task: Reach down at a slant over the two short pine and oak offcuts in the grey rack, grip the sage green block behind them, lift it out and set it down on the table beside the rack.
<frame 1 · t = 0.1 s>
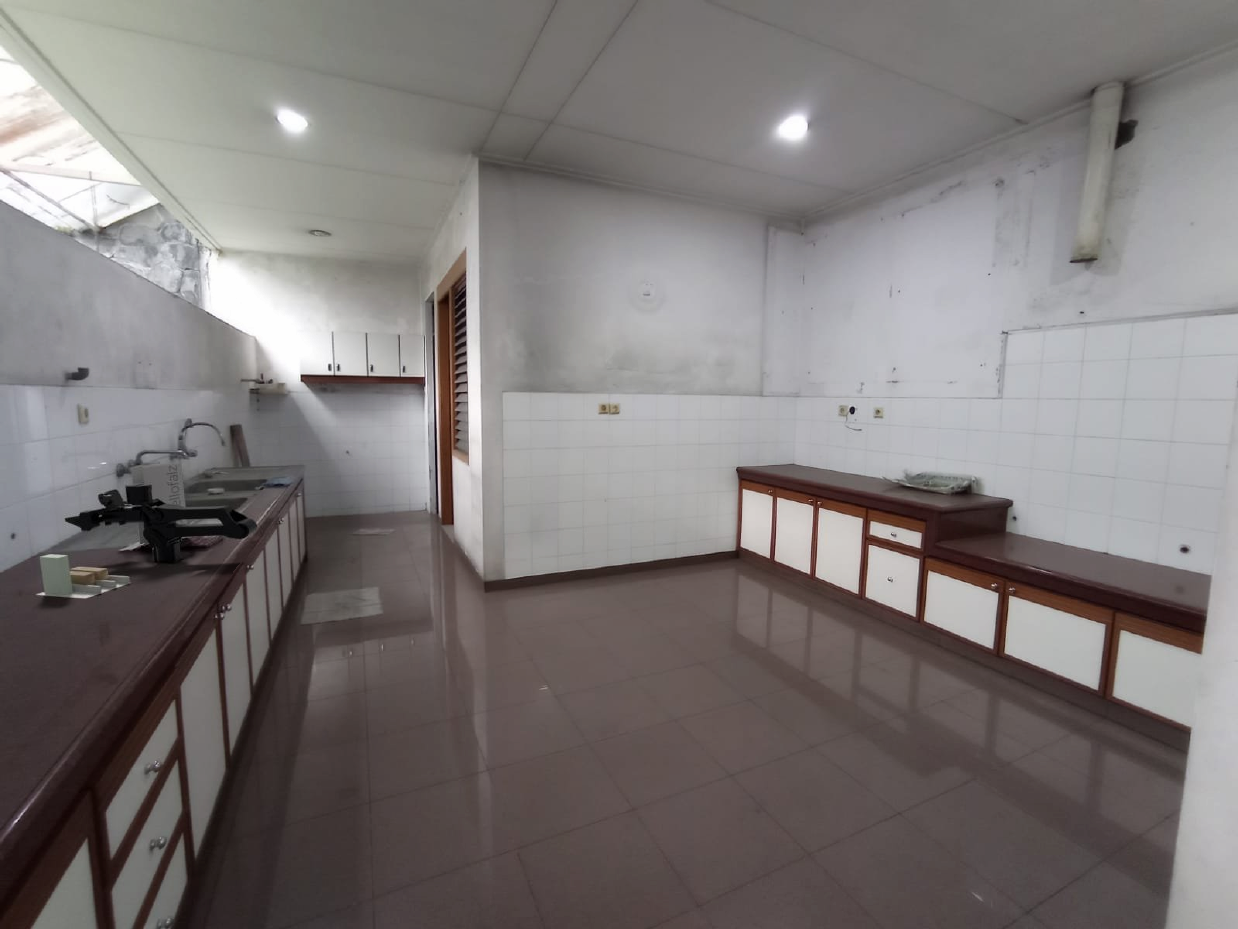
hand: (76, 516, 183), 17 cm above the countertop, tool horizontal, fingers open, 9 cm apart
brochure: (165, 543, 211), on the countertop
rack: (76, 591, 162), on the countertop
offcut front: (90, 583, 166), point 1 cm above the countertop, touching rack
sage green block: (58, 593, 157), point 1 cm above the countertop, touching rack
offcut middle: (76, 588, 162), point 1 cm above the countertop, touching rack
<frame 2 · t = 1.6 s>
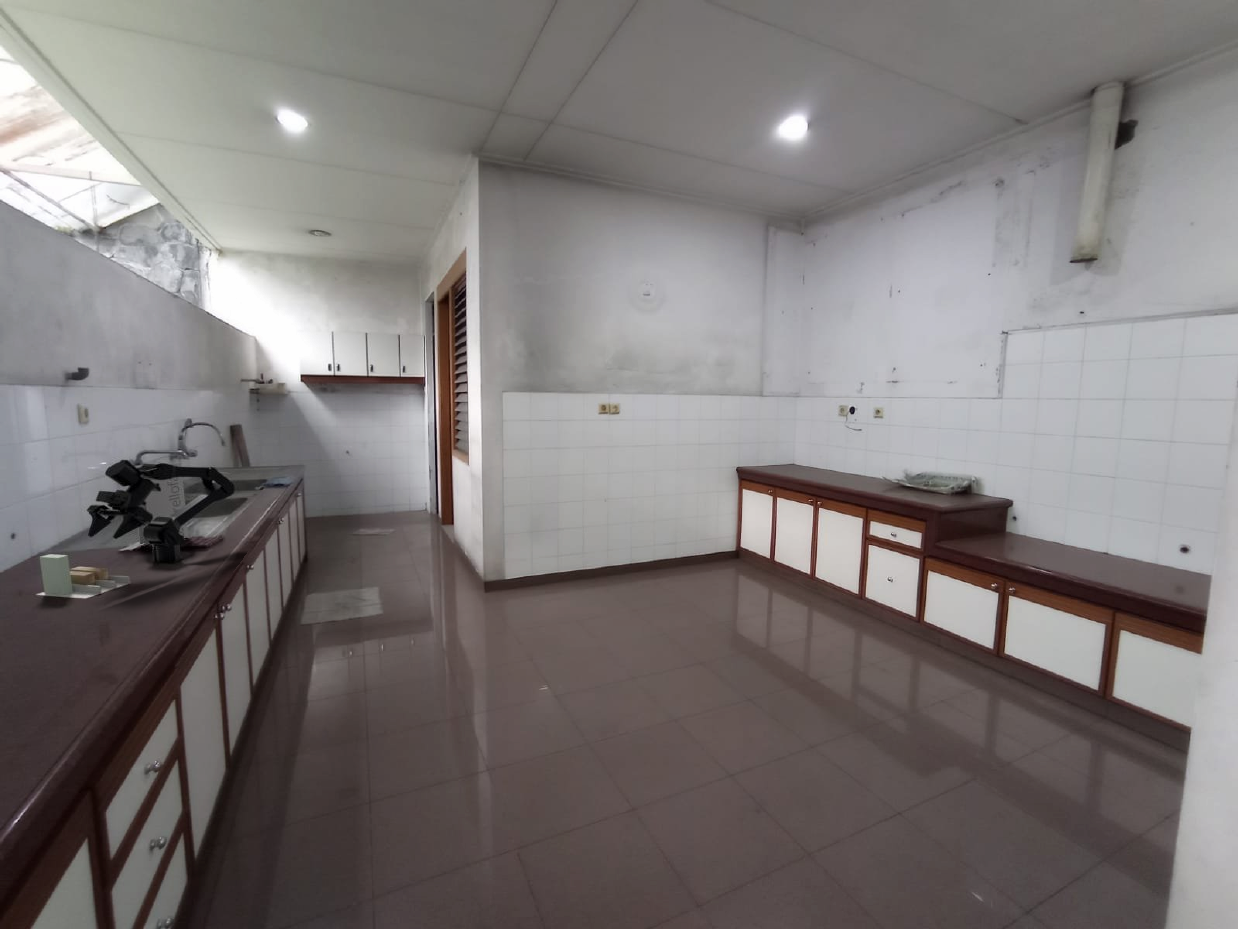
hand: (101, 537, 169), 14 cm above the countertop, tool tilted 45°, fingers open, 9 cm apart
nothing on the countertop moved.
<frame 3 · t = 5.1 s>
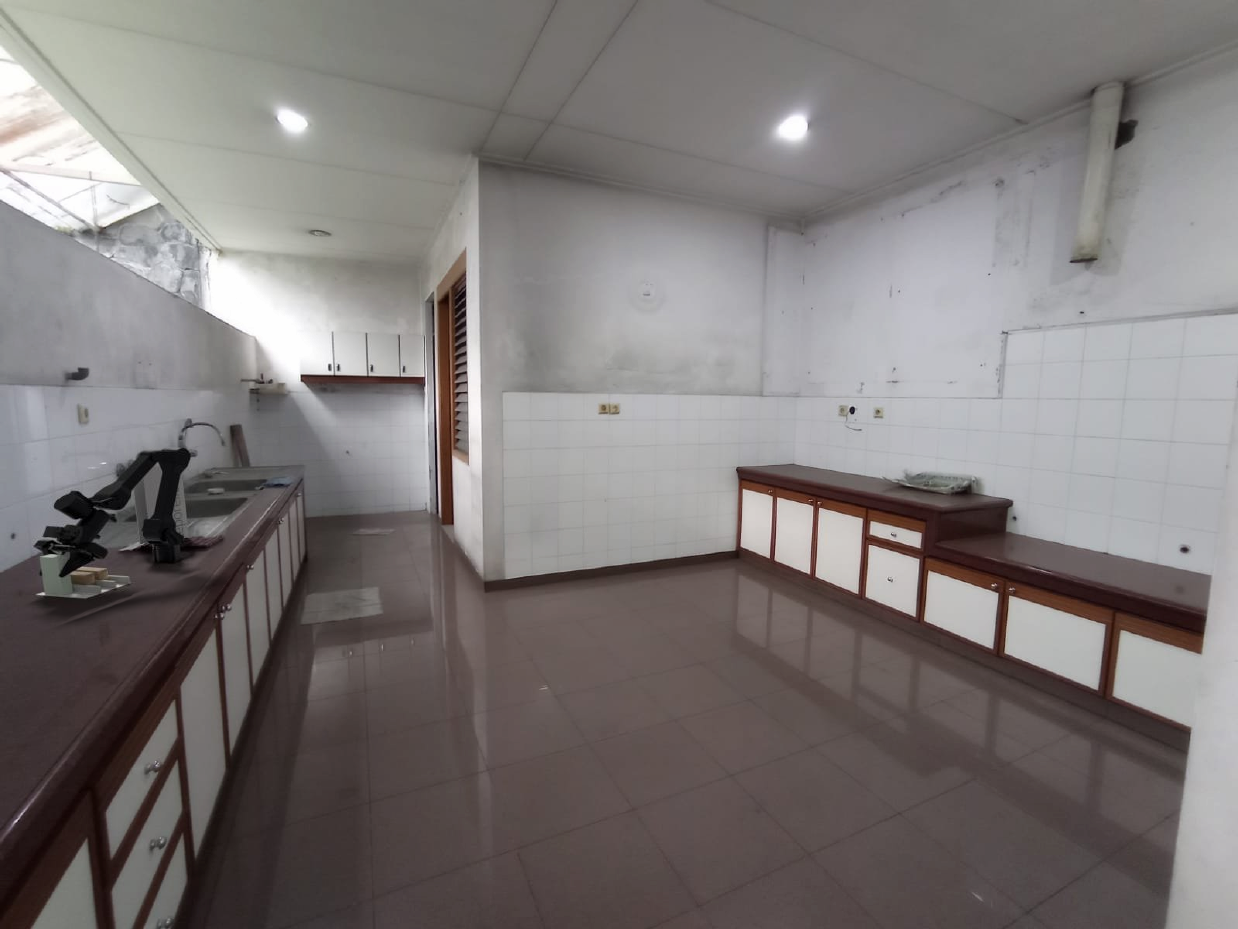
hand: (50, 576, 155), 7 cm above the countertop, tool tilted 45°, fingers closed on sage green block, 6 cm apart
sage green block: (58, 593, 157), point 1 cm above the countertop, touching gripper, rack
everything else where it was.
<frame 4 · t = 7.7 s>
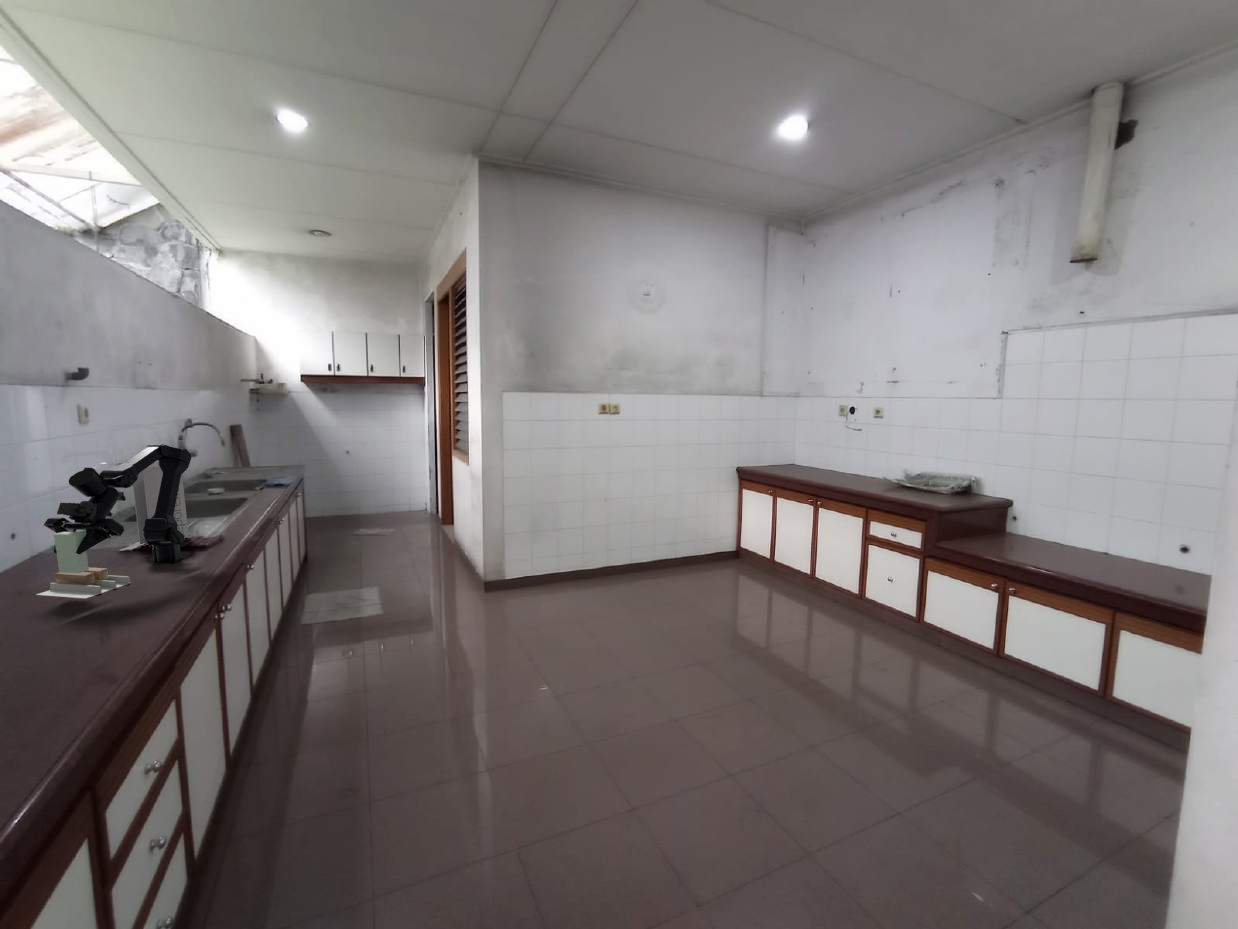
hand: (66, 553, 154), 13 cm above the countertop, tool tilted 45°, fingers closed on sage green block, 6 cm apart
sage green block: (74, 571, 156), point 8 cm above the countertop, touching gripper
everything else where it was.
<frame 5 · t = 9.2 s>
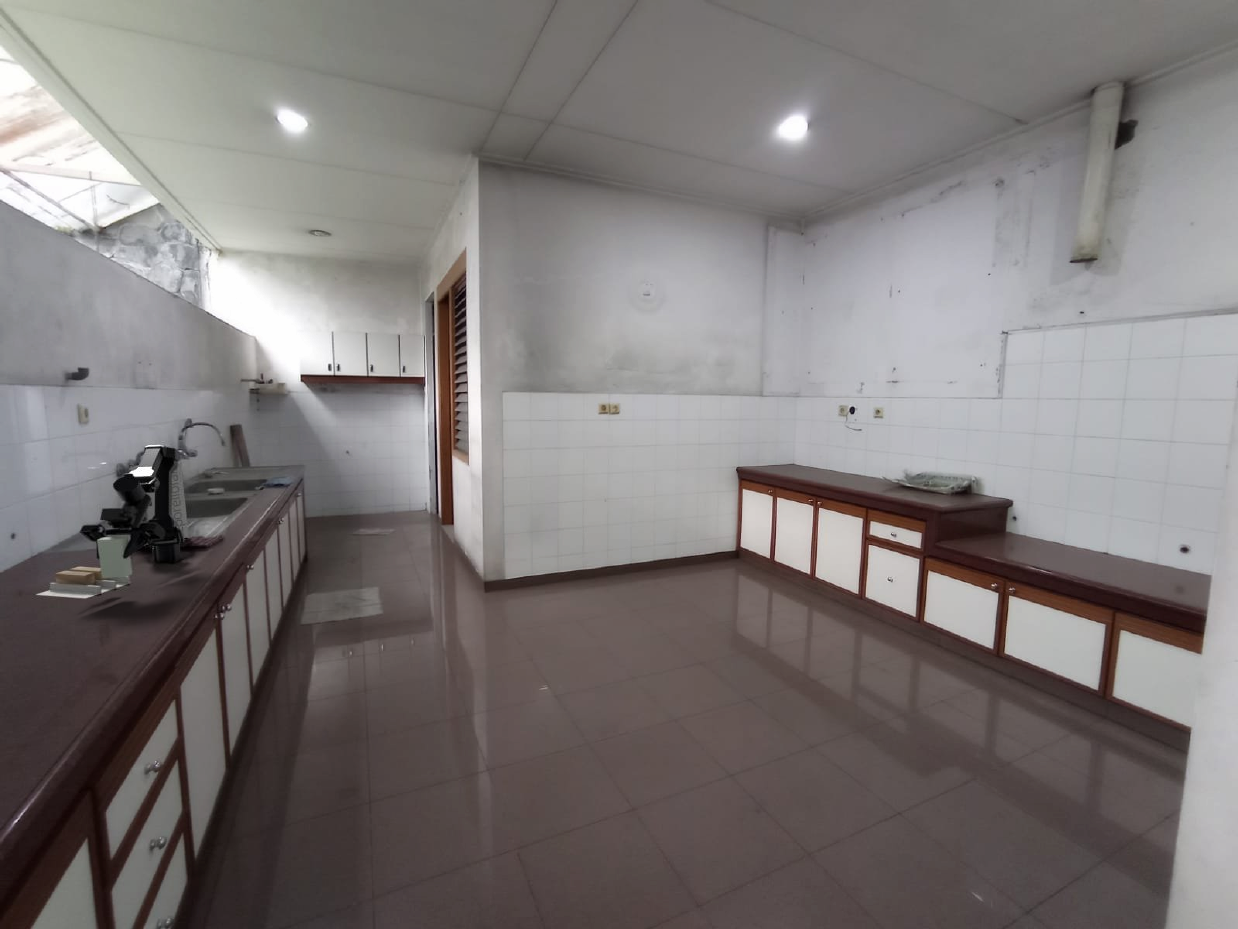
hand: (111, 558, 155), 12 cm above the countertop, tool tilted 45°, fingers closed on sage green block, 6 cm apart
sage green block: (117, 575, 158), point 6 cm above the countertop, touching gripper
everything else where it was.
when the fingers open (7 cm above the countertop, at t = 10.6 s): sage green block drops 1 cm, on the countertop.
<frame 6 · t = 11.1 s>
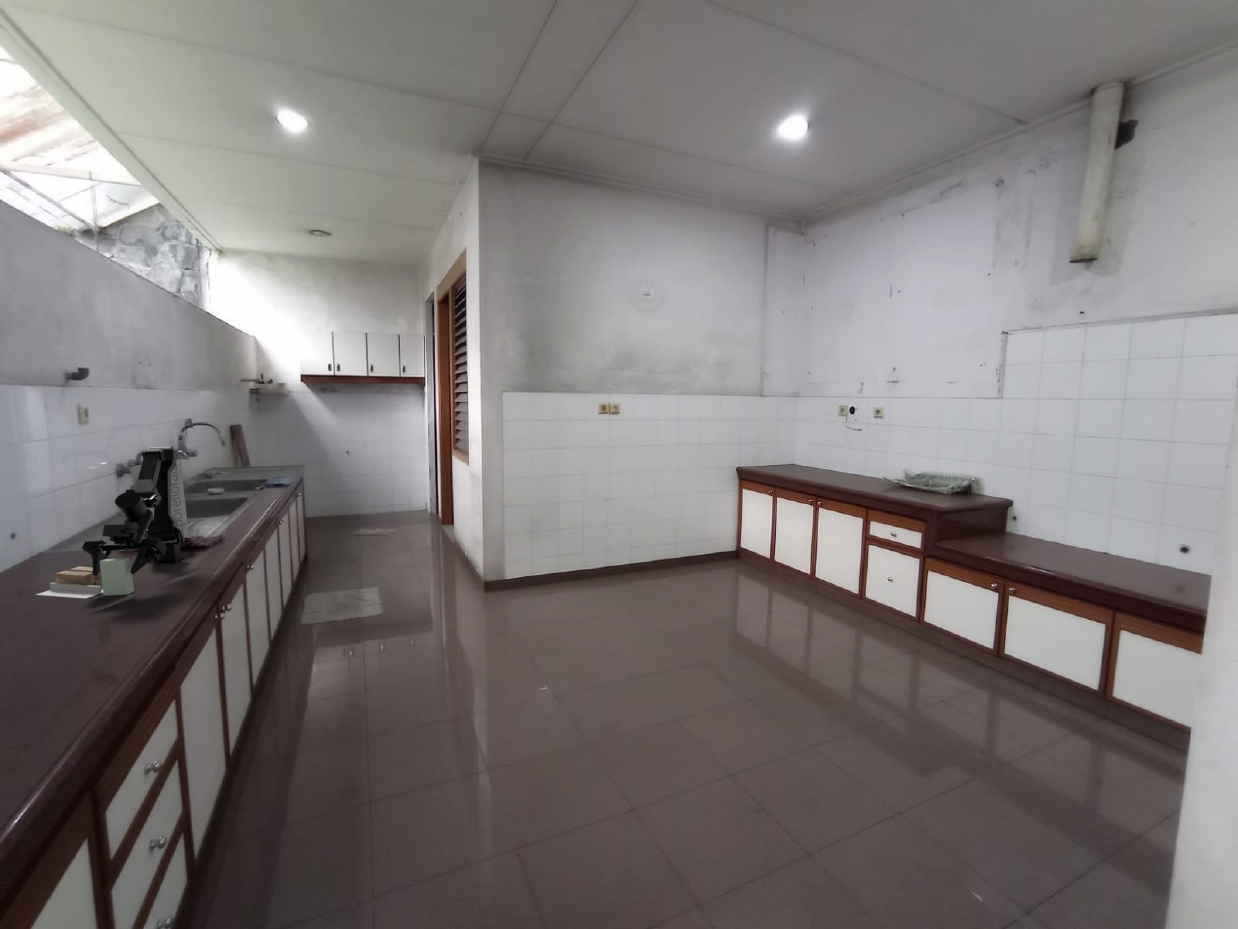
hand: (113, 574, 156), 7 cm above the countertop, tool tilted 45°, fingers open, 9 cm apart
sage green block: (119, 596, 158), on the countertop
everything else where it was.
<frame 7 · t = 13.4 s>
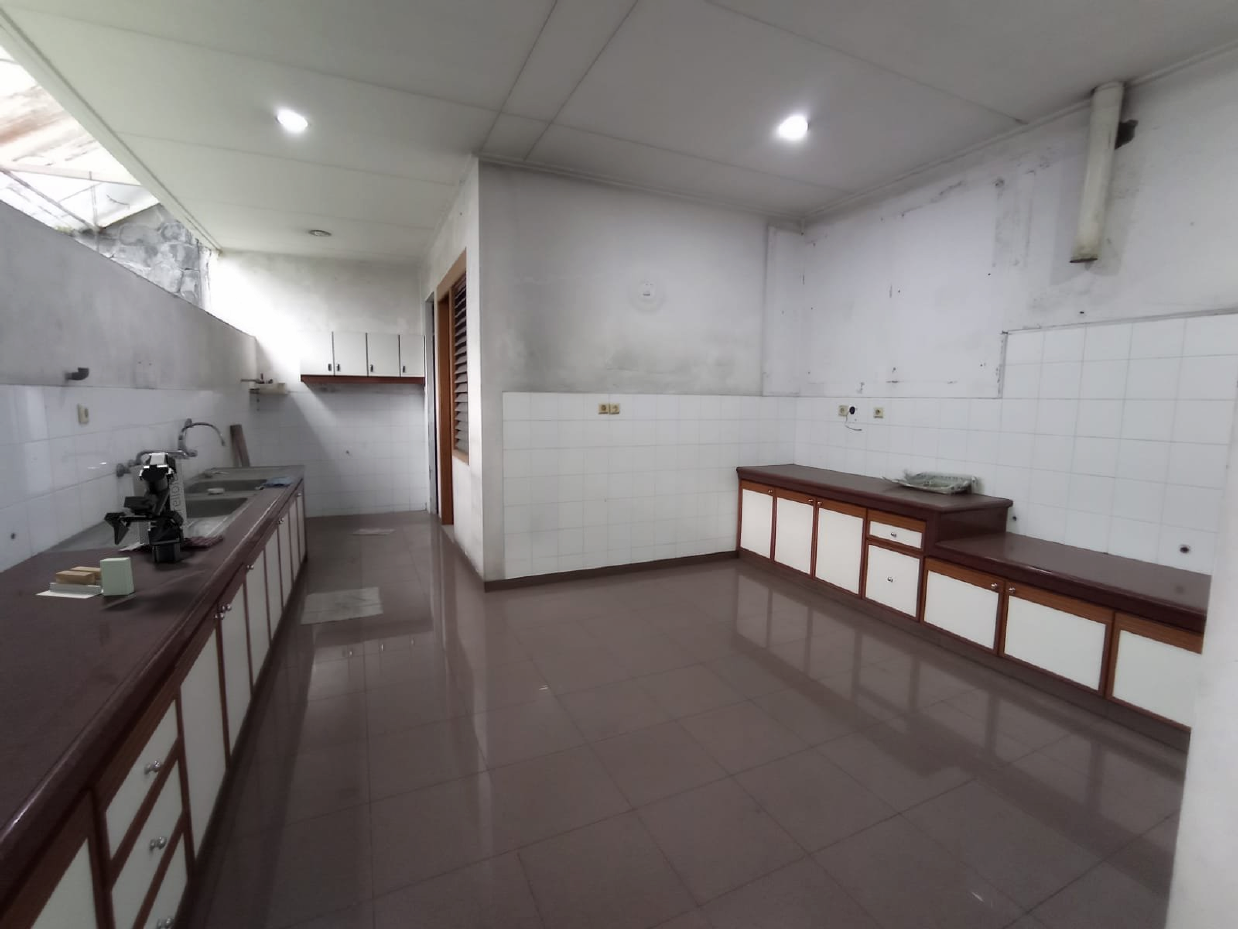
hand: (133, 543, 164), 13 cm above the countertop, tool tilted 45°, fingers open, 9 cm apart
nothing on the countertop moved.
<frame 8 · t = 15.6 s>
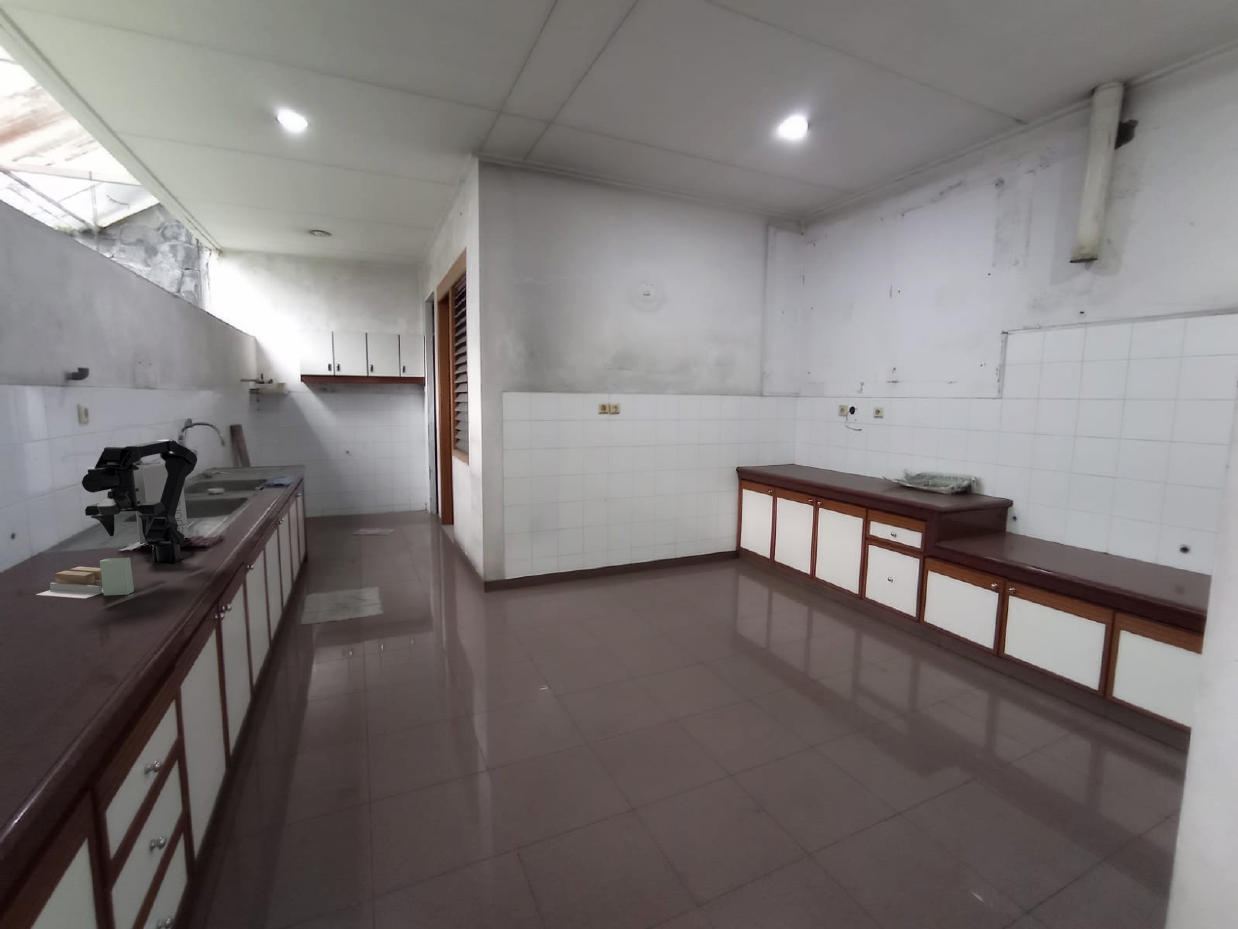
hand: (128, 535, 174), 13 cm above the countertop, tool pointing down, fingers open, 9 cm apart
nothing on the countertop moved.
at the end: sage green block inside the target area (0.0 cm from its centre), on the countertop; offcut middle moved 0.0 cm from its start; offcut front moved 0.0 cm from its start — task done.
